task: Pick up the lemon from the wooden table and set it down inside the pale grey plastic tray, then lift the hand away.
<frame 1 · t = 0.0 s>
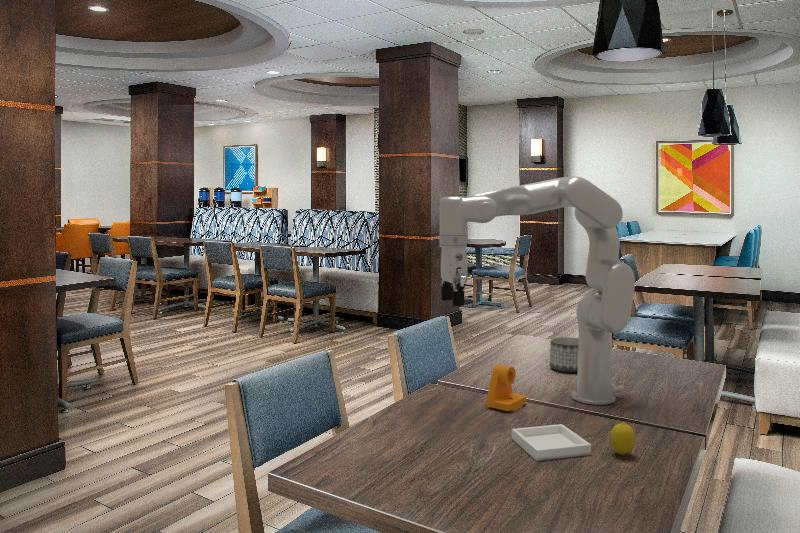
hand: (452, 302, 176), 31 cm above the table, tool pointing down, fingers open, 9 cm apart
planter: (568, 370, 223), on the table
lemon: (622, 456, 149), on the table
bracket: (507, 407, 184), on the table
tray: (549, 446, 155), on the table
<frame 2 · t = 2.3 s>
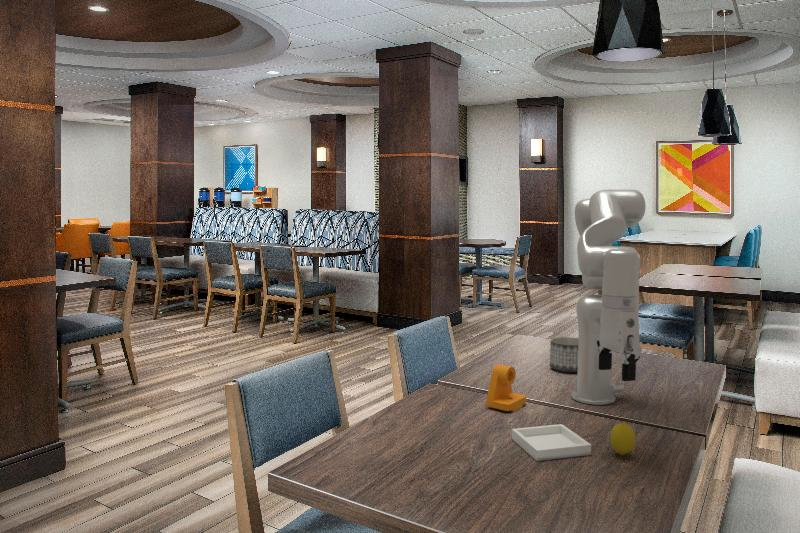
hand: (616, 374, 148), 19 cm above the table, tool pointing down, fingers open, 9 cm apart
nothing on the table moved.
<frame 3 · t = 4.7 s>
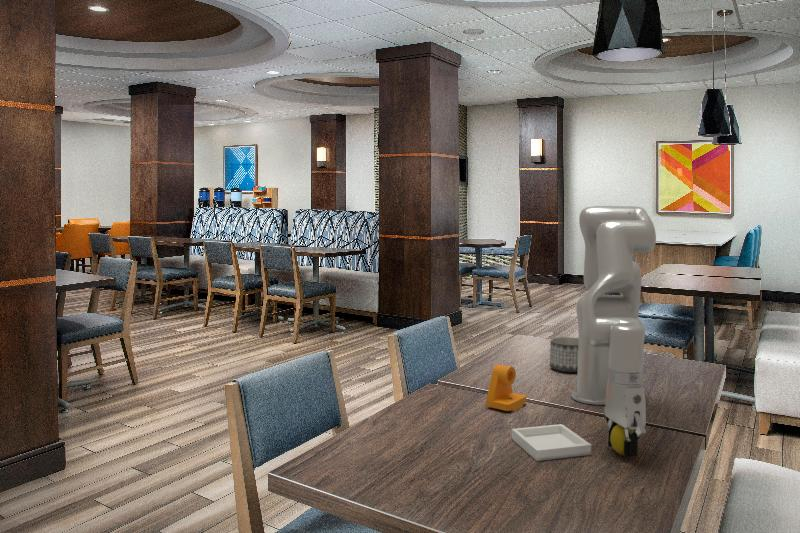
hand: (622, 450, 149), 1 cm above the table, tool pointing down, fingers closed on lemon, 5 cm apart
lemon: (622, 456, 149), on the table, touching gripper
everything else where it was.
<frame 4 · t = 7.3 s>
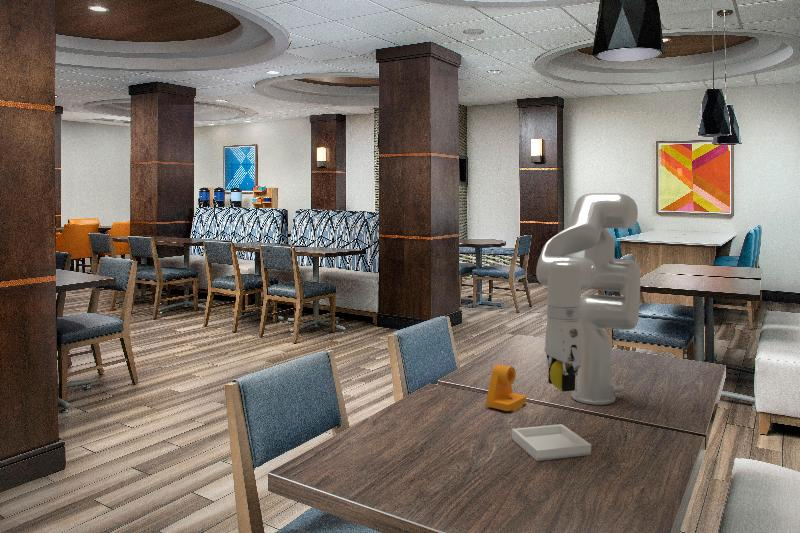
hand: (561, 386, 152), 15 cm above the table, tool pointing down, fingers closed on lemon, 5 cm apart
lemon: (561, 391, 152), point 14 cm above the table, touching gripper
everything else where it was.
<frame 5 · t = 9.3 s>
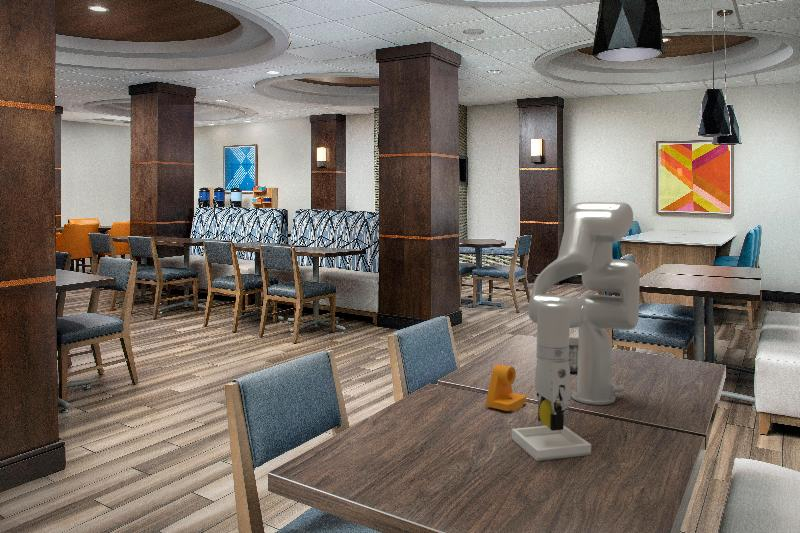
hand: (550, 424, 154), 6 cm above the table, tool pointing down, fingers closed on lemon, 5 cm apart
lemon: (550, 429, 154), point 4 cm above the table, touching gripper
everything else where it was.
when the fingers open (4 cm above the table, at t = 10.1 s): lemon drops 2 cm, resting on tray.
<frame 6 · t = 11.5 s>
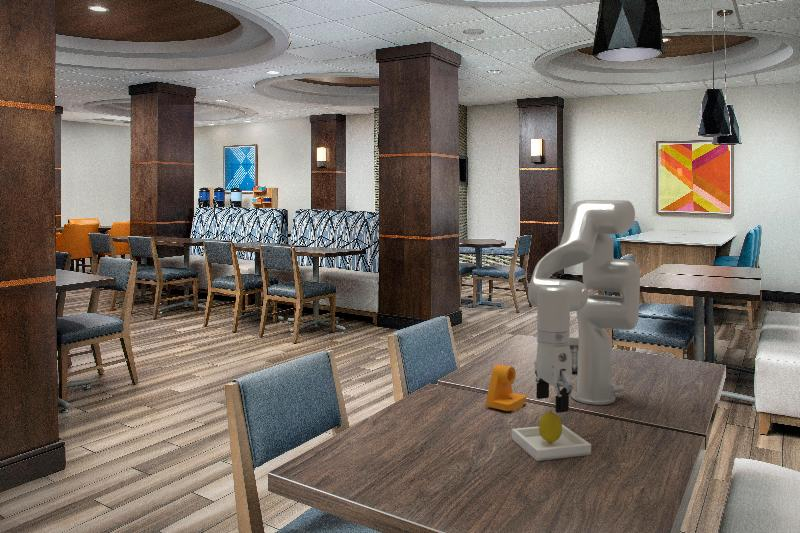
hand: (552, 404, 154), 10 cm above the table, tool pointing down, fingers open, 9 cm apart
lemon: (550, 444, 155), resting on tray
everything else where it was.
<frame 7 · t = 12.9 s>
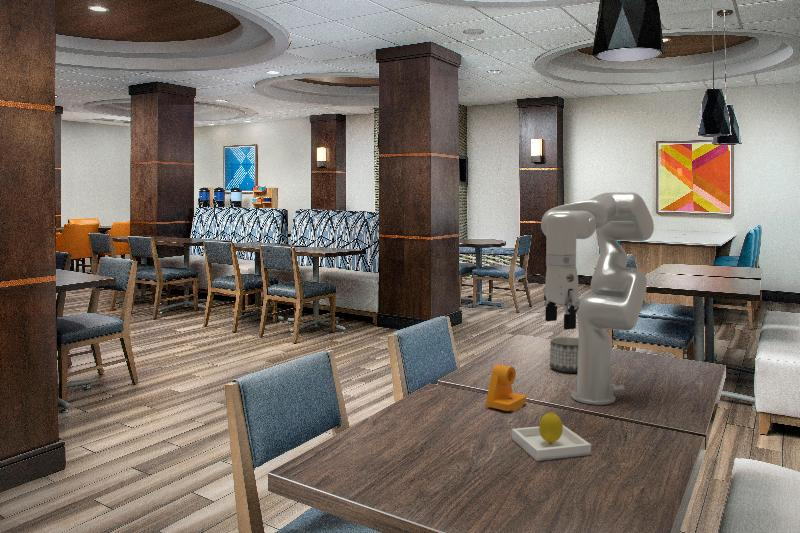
hand: (560, 324, 167), 27 cm above the table, tool pointing down, fingers open, 9 cm apart
nothing on the table moved.
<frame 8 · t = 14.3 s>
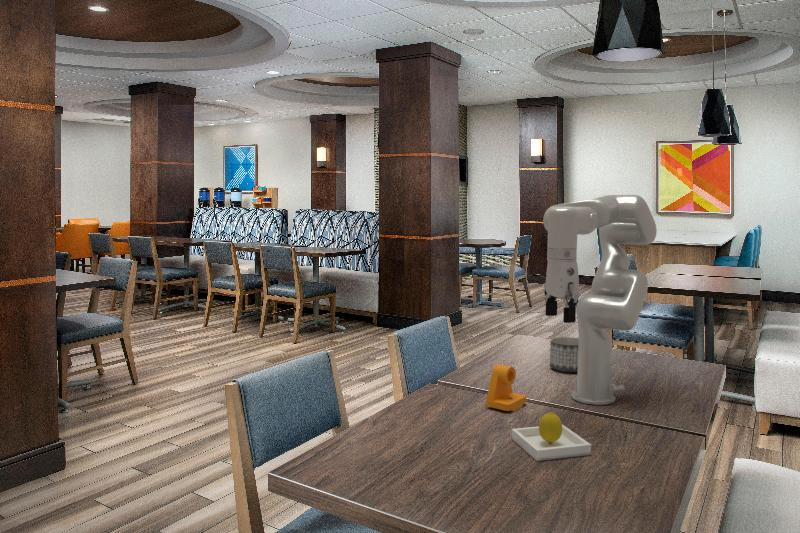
hand: (560, 318, 168), 28 cm above the table, tool pointing down, fingers open, 9 cm apart
nothing on the table moved.
at the end: lemon inside the target area on the tray (0.1 cm from its centre), point 0.4 cm above the tray's base; the gripper is holding nothing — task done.
